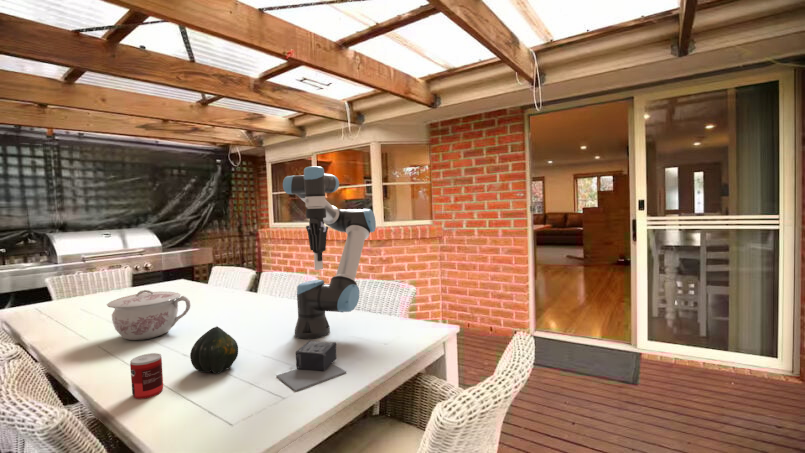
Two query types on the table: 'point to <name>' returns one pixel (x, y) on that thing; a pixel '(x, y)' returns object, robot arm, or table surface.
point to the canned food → (146, 375)
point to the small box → (316, 355)
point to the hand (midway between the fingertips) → (318, 269)
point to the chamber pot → (146, 314)
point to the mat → (309, 377)
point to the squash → (214, 351)
